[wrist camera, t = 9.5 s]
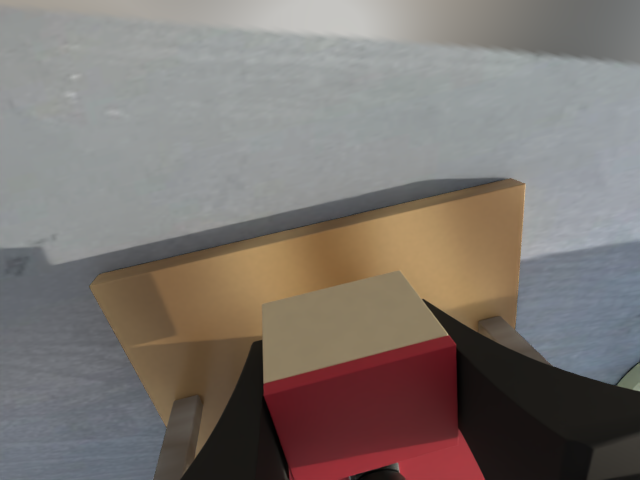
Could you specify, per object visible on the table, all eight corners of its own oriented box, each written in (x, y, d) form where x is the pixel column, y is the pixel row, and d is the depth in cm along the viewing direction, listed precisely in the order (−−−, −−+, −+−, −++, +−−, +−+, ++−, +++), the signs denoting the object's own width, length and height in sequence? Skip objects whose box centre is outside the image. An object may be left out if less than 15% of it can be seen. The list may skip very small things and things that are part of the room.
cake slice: (286, 386, 14) (297, 492, 10) (261, 303, 12) (262, 395, 9) (408, 353, 14) (459, 445, 11) (399, 269, 13) (457, 344, 9)
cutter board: (226, 518, 22) (217, 659, 17) (98, 273, 14) (3, 388, 9) (497, 440, 23) (569, 548, 18) (510, 177, 16) (643, 227, 10)
